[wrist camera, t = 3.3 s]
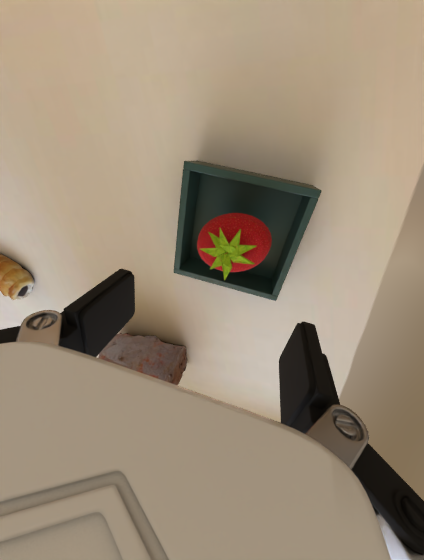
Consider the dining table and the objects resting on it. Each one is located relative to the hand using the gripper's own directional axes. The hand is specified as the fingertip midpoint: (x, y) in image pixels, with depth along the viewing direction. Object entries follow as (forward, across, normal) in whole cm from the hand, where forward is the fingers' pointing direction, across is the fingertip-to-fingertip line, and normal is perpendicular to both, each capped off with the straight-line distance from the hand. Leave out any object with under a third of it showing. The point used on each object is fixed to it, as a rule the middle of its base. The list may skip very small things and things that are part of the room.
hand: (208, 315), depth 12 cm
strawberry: (+17, 0, 0) cm, 17 cm away
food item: (+18, +11, +26) cm, 33 cm away
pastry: (+17, +39, +18) cm, 46 cm away
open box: (+17, 0, 0) cm, 17 cm away
